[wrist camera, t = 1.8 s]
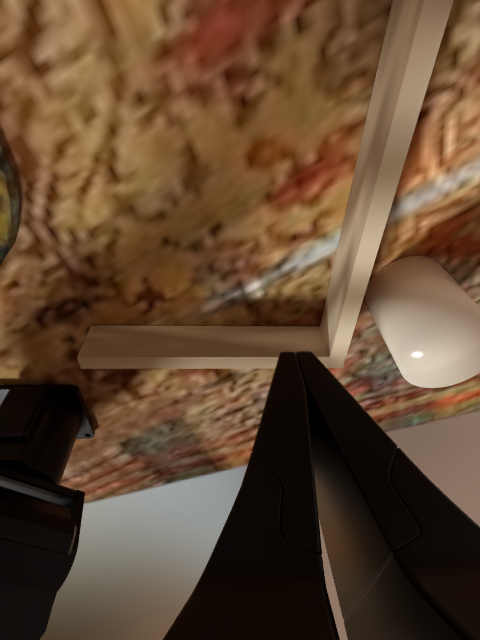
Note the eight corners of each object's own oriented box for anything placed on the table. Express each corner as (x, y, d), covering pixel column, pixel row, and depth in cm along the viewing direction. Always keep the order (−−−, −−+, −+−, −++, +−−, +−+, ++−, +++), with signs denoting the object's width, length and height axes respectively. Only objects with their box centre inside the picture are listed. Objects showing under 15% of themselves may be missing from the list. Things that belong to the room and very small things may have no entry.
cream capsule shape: (428, 320, 25) (475, 387, 20) (357, 320, 25) (388, 388, 20) (457, 256, 22) (522, 318, 17) (376, 255, 22) (419, 317, 17)
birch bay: (331, 337, 26) (342, 368, 23) (94, 336, 25) (80, 368, 22) (489, -282, 10) (566, -371, 8) (-103, -331, 10) (-207, -446, 7)
